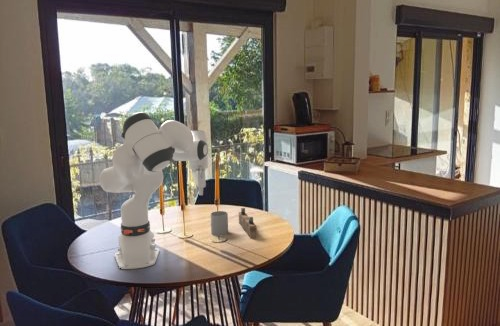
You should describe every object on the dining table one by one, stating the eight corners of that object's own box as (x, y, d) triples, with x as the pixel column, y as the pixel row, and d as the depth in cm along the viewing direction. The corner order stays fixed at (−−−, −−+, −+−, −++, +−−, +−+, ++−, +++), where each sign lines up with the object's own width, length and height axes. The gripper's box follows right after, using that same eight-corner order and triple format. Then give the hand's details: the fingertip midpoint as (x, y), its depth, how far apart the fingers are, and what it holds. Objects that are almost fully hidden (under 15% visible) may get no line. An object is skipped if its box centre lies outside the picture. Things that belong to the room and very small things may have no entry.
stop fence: (256, 237, 190) (256, 219, 188) (250, 238, 189) (250, 220, 188) (244, 222, 213) (244, 206, 211) (238, 223, 212) (238, 206, 210)
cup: (231, 232, 199) (231, 212, 197) (221, 237, 192) (220, 217, 190) (218, 229, 203) (217, 210, 202) (207, 234, 197) (207, 214, 195)
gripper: (208, 167, 180) (209, 197, 182) (202, 160, 200) (203, 187, 202) (194, 168, 179) (195, 198, 181) (189, 161, 198) (190, 188, 200)
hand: (199, 192), depth 192 cm, fingers open, 8 cm apart
